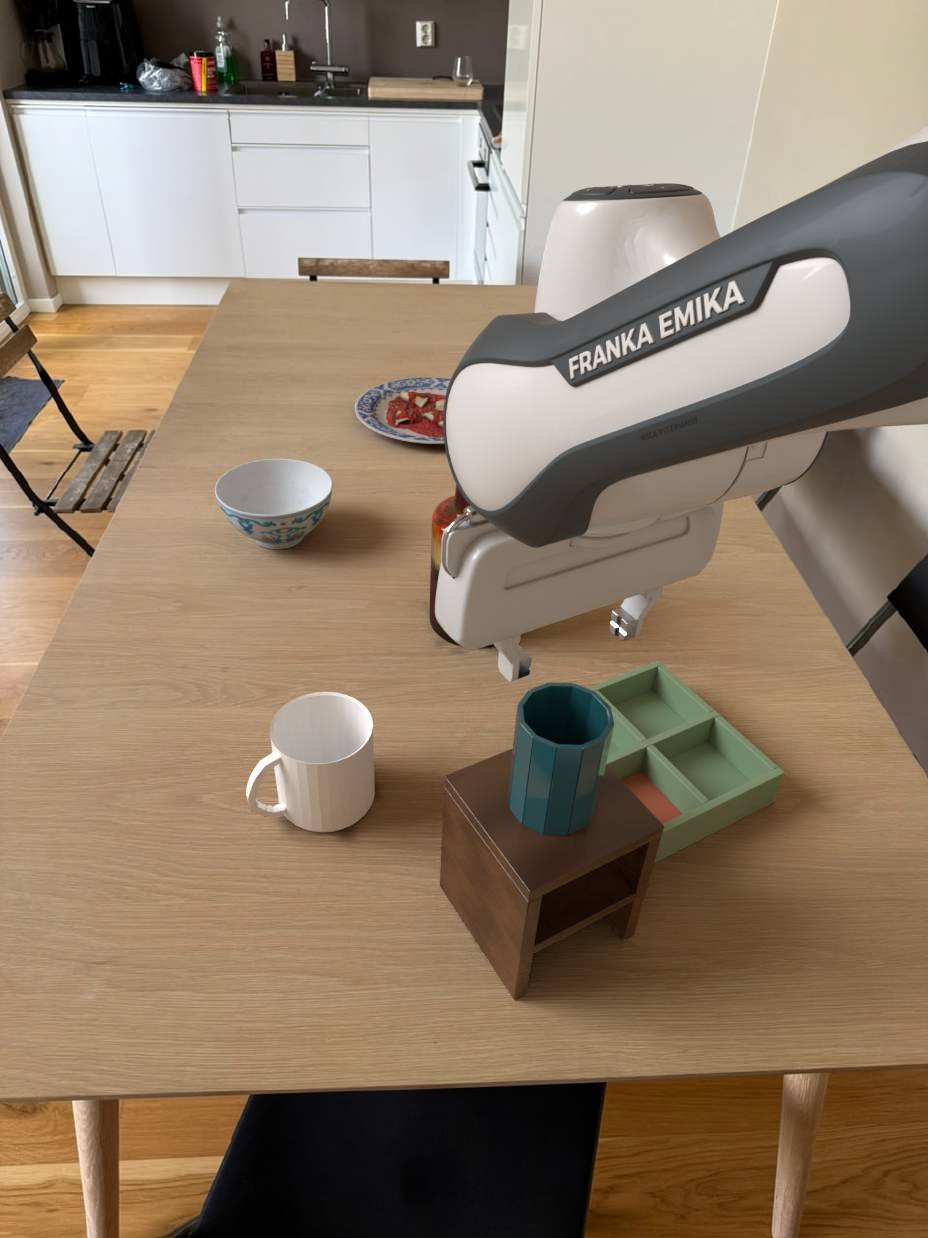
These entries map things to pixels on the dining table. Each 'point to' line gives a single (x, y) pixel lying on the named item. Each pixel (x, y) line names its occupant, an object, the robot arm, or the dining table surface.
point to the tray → (683, 757)
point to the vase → (440, 521)
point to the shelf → (540, 867)
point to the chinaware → (275, 500)
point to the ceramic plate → (405, 409)
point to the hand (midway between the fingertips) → (570, 653)
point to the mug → (319, 762)
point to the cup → (559, 757)
